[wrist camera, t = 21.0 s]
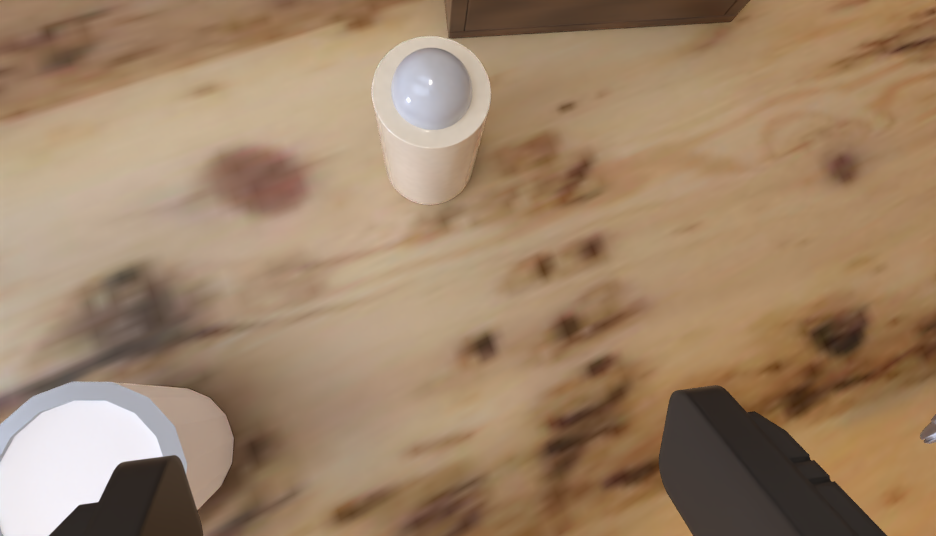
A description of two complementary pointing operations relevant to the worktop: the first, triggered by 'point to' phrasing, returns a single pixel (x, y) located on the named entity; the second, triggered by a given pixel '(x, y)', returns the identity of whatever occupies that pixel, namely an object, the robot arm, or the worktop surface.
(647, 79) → the worktop surface
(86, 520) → the robot arm
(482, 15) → the tray
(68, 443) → the beige white cylinder
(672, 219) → the worktop surface
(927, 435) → the spaceship
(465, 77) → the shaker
